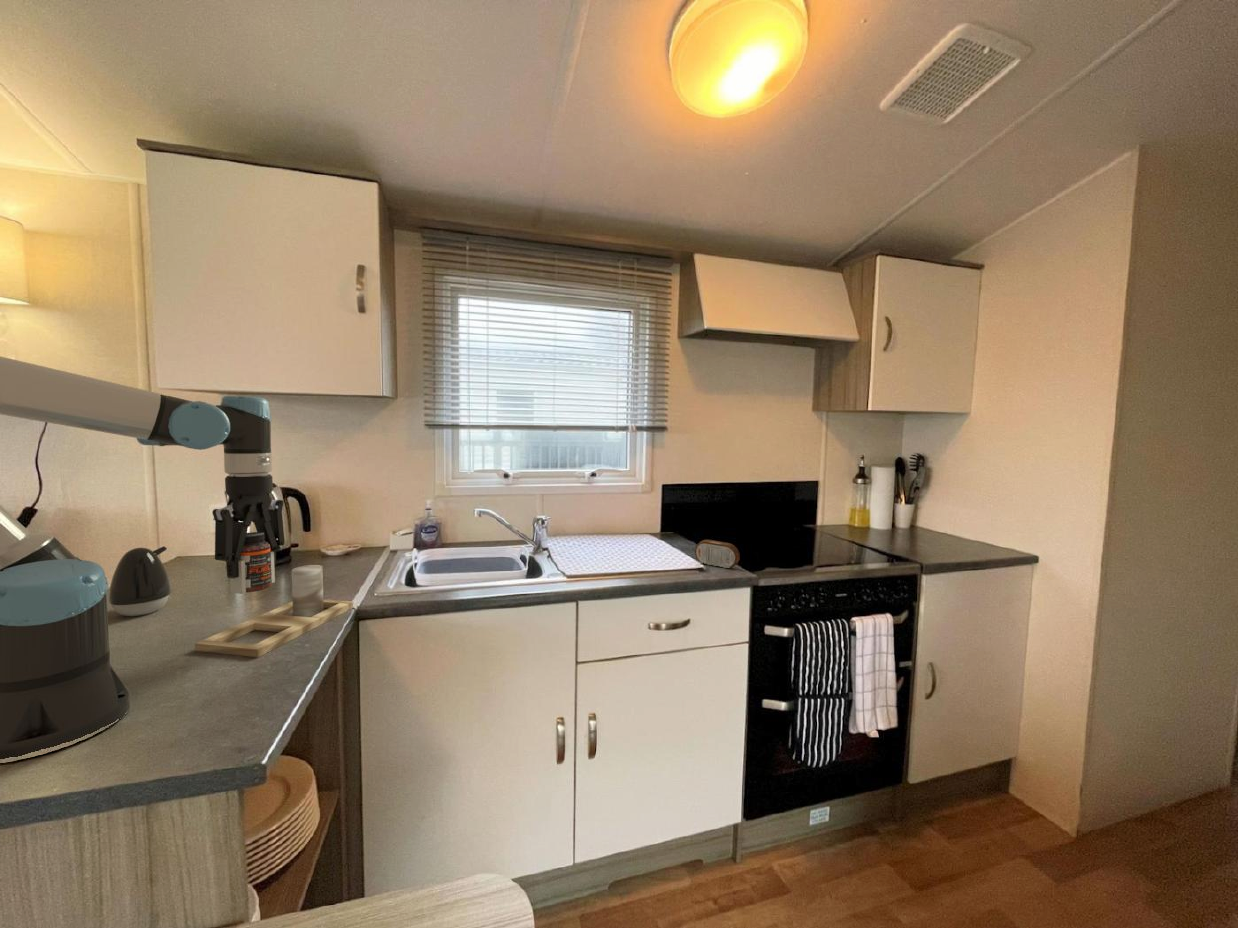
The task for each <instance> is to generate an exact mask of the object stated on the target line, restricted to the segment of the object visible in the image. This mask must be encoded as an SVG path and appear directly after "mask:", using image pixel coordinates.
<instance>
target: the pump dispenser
mask: <svg viewBox="0 0 1238 928" xmlns="http://www.w3.org/2000/svg"><path fill="white" fill-rule="evenodd" d="M167 549H168V548H167V547H166V546H161V547H158V548H157V549H155V550H152V549H150V548H147V547H136V548H135V547H134V548H132V549H130V550H128V551H127V552H125V553H124V555H123V556H122V557H121V558H120V560H119V561H118V563H117V565H116V568H115V570H114V572H113V575H112V578H111V582H110V586H109V592H108V593H109V594H108V603H109V604H110V605H111V607H112V609H113V610H114V611H115V612H116V613H117V614H118V615H121V616H126V617H138V616H144V615H148V614H152V613H154V612H156V611H158V610H160V609H161V608H162V607H163V606H164V605H165V604H166V603H167V602H168V600H169V596H170V595H171V593H172V587H171V581H170V578H169V576H168V573H167V570H166V568H165V565H164V563H163V562H162V560H161V559H160V557H159V556H160V554H162V553H163V552H166V550H167Z"/></svg>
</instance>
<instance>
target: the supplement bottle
mask: <svg viewBox="0 0 1238 928" xmlns="http://www.w3.org/2000/svg"><path fill="white" fill-rule="evenodd" d="M264 539H265V537H264V533H263V532H257V531H255V532H252V531H250V532H247V533H246V538H245V542H244V546H243V550H242V555H241V559H240V560H245V580H246V593H252V592H253V593H255V592H259V591H263V590H266V589H269V587H271V585H272V583H271V575H272V574H271V551H270V544H269V543H267V542H265V540H264Z"/></svg>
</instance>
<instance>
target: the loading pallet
mask: <svg viewBox="0 0 1238 928" xmlns="http://www.w3.org/2000/svg"><path fill="white" fill-rule="evenodd" d="M323 574H324V571H323V565H319V564H308V565H307V564H306V565H302V566H298V567H295V568H292V569H291V595H292V597H291V599H292V601H290V602H289V603H287V604H284V605H282V606H279V607H277V608H275V609H272V610H270V611H267V612H265V613H263V614H260V615H258V616H256V617H254V618H251V619H248V620H246V621H245V622H241V623H239V624H237V625H235V626H233V627H230V628H227V629H225V630H222V631H220V632H218V633H216V634H214V635H212V636H209V637H207V638H204V639H202V640H200V641H197V642H195V643H194V651H195V652H201V653H202V652H205V653H215V654H222V655H223V654H224V655H234V656H241V657H243V656H244V657H252V658H260V657H262V656H264V655H265V654H267V652H268V653H269V652H271V651H274V650H275V649H277V648H279V647H280V646H283V645H285V644H286V643H288V642H291V641H292V640H295V639H296V638H298V637H300V636H301V635H305V634H306V633H308V632H309V631H311V630H313V629H315V628H317V627H319V626H321V625H323V624H325V623H327V622H329V621H331V620H333V619H335V618H336V617H337V618H338V616H340V615H343V614H344V613H347V612H348V611H350V610H352V609H353V608H354V601H348V600H338V599H337V600H335V599H324V581H323V580H324V579H323V577H324V575H323ZM324 609H325V610H324ZM291 614H292V615H291ZM253 631H263V632H264V631H265V632H273V633H275V632H276V634H274V635H272V636H270V637H267V638H265V639H263V640H261V641H259V642H257V643H255V644H248V643H237V642H231V641H233V640H236V639H238V638H240V637H243V636H245V635H247V634H249V633H250V632H253Z"/></svg>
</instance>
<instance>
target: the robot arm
mask: <svg viewBox="0 0 1238 928" xmlns="http://www.w3.org/2000/svg"><path fill="white" fill-rule="evenodd" d="M0 415H2V416H6V417H7V416H9V417H14V418H19V419H24V420H25V419H26V420H30V421H31V420H32V421H36V422H37V421H38V422H43V423H49V424H53V425H60V426H65V427H72V428H77V429H84V430H88V431H89V430H90V431H94V432H100V433H105V434H111V435H118V436H122V437H123V436H124V437H129V438H135V439H136V441H137V442H138V443H139V444H140V445H143V446H158V447H166V446H168V447H169V446H180V447H184V448H187V449H192V450H200V451H201V450H202V451H203V450H207V449H210V448H213V447H217V446H220V445H222V446H223V463H224V464H223V465H224V466H223V467H224V473H225V474H228V475H227V476H226V477H225V478H224V485H225V486H224V487H225V489H224V491H225V493H226V494H225V495H227V496H228V501H227V503H226V506H224V507H222V508H214V509H213V510H212V512H211V513H212V516H213V520H214V521H215V523H214V525H215V527H214V560H216V561H221V562H222V561H223V562H225V563H226V577H227V578H228V579H229V590H230V592H229V593H230V594H237V595H239V594H241V595H244V594H246V593H247V592H246V580H245V560H240V559H241V555H242V550H243V546H244V542H245V538H246V533H248V528H249V527H250V526H251V525H252V523H253V525H254V526H255V530H256V532H263V533H264V537H265V539H264V540H265V542H267V543H269V544H270V551H271V574H272V575H271V584H274V583H275V582H276V576H275V575H276V574H275V566H276V564H277V552H279V551H280V550H281V549H282V548H281V547H282V546H284V545H285V541H286V540H285V529H284V520H283V519H284V518H283V508H284V500H283V499H272V496H271V493H272V492H273V490H274V487H273V486H274V484H273V475H271V474H269V473H270V472H272V470H273V466H272V461H273V460H272V447H271V446H272V444H271V443H272V434H271V433H272V431H271V430H272V424H271V423H272V419H271V411H270V404H269V400H267V399H266V398H263V397H260V396H247V395H246V396H245V395H225V396H224V395H223V397H221V402H220V404H217V405H214V404H211V403H207V402H204V401H202V400H201V401H198V400H195V401H192V400H188V399H182V398H180V397H175V396H171V395H164V394H162V393H158V392H155V391H150V390H146V389H142V388H137V387H133V386H127V385H125V384H124V385H123V384H120V383H115V382H111V381H106V380H102V379H99V378H94V377H89V376H86V375H81V374H78V373H72V372H68V371H65V370H60V369H55V368H51V367H47V366H42V365H38V364H35V363H31V362H26V361H22V360H17V359H13V358H9V357H4V356H1V355H0ZM108 582H109V581H108V579H107V577H106V573H105V570H104V568H103V567H102V566H101V565H100V564H98V563H96V562H94V561H91V560H83V559H80V558H79V557H78V556H76V555H74V554H73V553H72V552H71V551H70V550H69V549H68V548H67V547H66V546H64V545H63V544H62V543H61V542H60V541H59V540H58V539H57V538H56V537H55V536H54V535H52V534H49V533H48V534H47V533H35V532H30V531H29V530H28V529H27V528H26V527H25V526H24V525H23V524H22V523H21V522H20V521H18V520H17V519H16V518H15V517H14V516H13V515H12V514H11V513H10V512H9V511H8V510H6V509H5V508H4V506H2V504H0V759H5V758H9V757H18V756H22V755H25V754H28V753H31V752H35V751H39V750H41V749H46V748H50V747H54V746H57V745H60V744H62V743H66V742H70V741H73V740H75V739H78V738H81V737H83V736H85V735H87V734H91V733H93V732H95V731H97V730H99V729H100V728H102V727H105V726H107V725H109V724H111V723H113V722H115V721H116V720H117V719H120V718H122V717H123V716H124V715H125V713H126V712H127V711H128V710H130V696H129V695H130V694H129V692H128V690H127V688H126V686H125V685H124V683H123V682H122V680H121V678H120V677H119V675H118V673H117V671H116V670H115V668H114V666H113V665H112V663H111V654H110V652H111V651H110V639H109V638H110V635H109V619H108V617H109V616H108V599H107V597H108V596H107V591H108V588H109V583H108ZM128 712H129V711H128ZM128 712H127V713H128ZM125 716H126V715H125ZM125 716H124V717H125ZM124 717H123V718H124ZM123 718H122V719H123Z"/></svg>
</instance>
